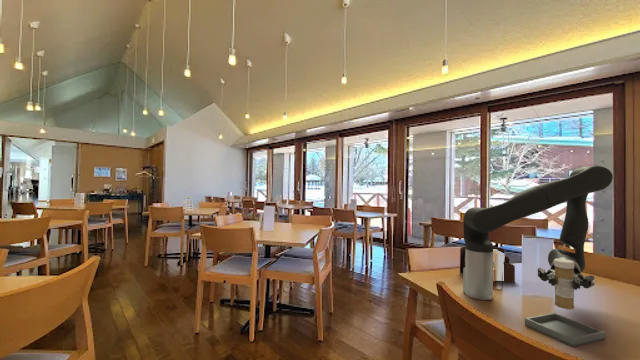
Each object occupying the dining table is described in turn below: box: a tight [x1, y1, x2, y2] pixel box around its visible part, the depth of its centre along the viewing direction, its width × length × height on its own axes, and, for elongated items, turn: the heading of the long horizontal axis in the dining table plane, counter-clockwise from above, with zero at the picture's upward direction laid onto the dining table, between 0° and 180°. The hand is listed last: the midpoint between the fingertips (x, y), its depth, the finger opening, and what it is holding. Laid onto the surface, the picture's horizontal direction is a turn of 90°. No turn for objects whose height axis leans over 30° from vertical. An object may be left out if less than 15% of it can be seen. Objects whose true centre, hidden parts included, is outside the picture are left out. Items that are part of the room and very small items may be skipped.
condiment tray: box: [524, 312, 606, 348], centre depth 86 cm, size 13×13×2 cm
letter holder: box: [459, 245, 516, 284], centre depth 136 cm, size 10×20×14 cm, turn 85°
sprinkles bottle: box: [554, 259, 575, 310], centre depth 86 cm, size 5×5×14 cm
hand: (564, 284), depth 84 cm, fingers closed on sprinkles bottle, 4 cm apart
